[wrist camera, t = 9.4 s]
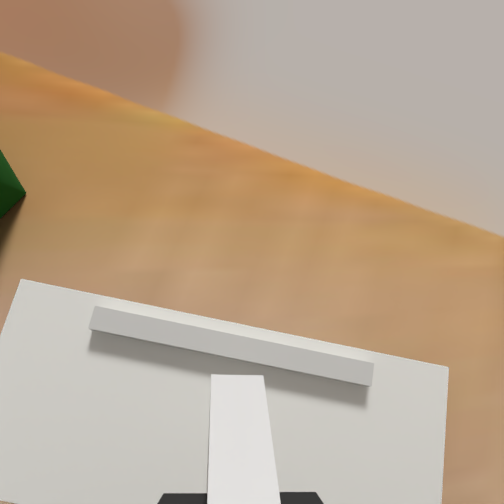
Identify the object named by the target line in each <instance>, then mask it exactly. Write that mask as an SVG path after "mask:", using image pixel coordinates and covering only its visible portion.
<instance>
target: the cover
mask: <svg viewBox="0 0 504 504" xmlns="http://www.w3.org/2000/svg"><path fill="white" fill-rule="evenodd" d="M211 374H218V375H263V377H264V384H265V391H266V399H267V406H268V413H269V421H270V428H271V435H272V443H273V450H274V457H275V465H276V472H277V479H278V487H279V492H316V493H317V494H318V496H319V497H320V499H321V500H322V502H323V503H324V504H441V501H442V482H443V464H444V446H445V428H446V410H447V392H448V374H449V367H446V366H441V365H436V364H431V363H426V362H421V361H417V360H412V359H407V358H402V357H397V356H392V355H388V354H383V353H378V352H373V351H368V350H363V349H359V348H354V347H349V346H344V345H339V344H334V343H330V342H325V341H320V340H315V339H310V338H305V337H301V336H296V335H291V334H286V333H281V332H276V331H272V330H267V329H262V328H257V327H252V326H247V325H243V324H238V323H233V322H228V321H223V320H218V319H214V318H209V317H204V316H199V315H194V314H189V313H185V312H180V311H175V310H170V309H165V308H160V307H156V306H151V305H146V304H141V303H136V302H131V301H127V300H122V299H117V298H112V297H107V296H102V295H98V294H93V293H88V292H83V291H78V290H73V289H69V288H64V287H59V286H54V285H49V284H44V283H40V282H35V281H30V280H25V279H21V280H20V283H19V285H18V288H17V291H16V294H15V296H14V299H13V302H12V305H11V308H10V310H9V313H8V316H7V319H6V321H5V324H4V327H3V330H2V332H1V335H0V500H1V501H6V502H12V503H17V504H157V503H158V502H159V500H160V498H161V497H162V495H163V493H206V486H207V456H208V432H209V411H210V390H211Z"/></svg>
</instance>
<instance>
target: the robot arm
mask: <svg viewBox="0 0 504 504" xmlns="http://www.w3.org/2000/svg"><path fill="white" fill-rule="evenodd" d="M157 504H324V503H323V502H322V500H321V499H320V497H319V496H318V494H317V493H316V492H279V487H278V479H277V472H276V465H275V457H274V450H273V443H272V435H271V428H270V421H269V413H268V406H267V399H266V391H265V384H264V377H263V375H218V374H211V390H210V411H209V432H208V456H207V486H206V493H163V495H162V497H161V498H160V500H159V502H158V503H157Z"/></svg>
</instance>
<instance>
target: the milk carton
mask: <svg viewBox="0 0 504 504" xmlns="http://www.w3.org/2000/svg"><path fill="white" fill-rule="evenodd" d="M25 194H26V192H25V190H24V188H23V187H22V185H21V184H20V182H19V180H18V179H17V177H16V175H15V174H14V172H13V170H12V168H11V167H10V165H9V163H8V162H7V160H6V158H5V157H4V155H3V153H2V152H1V150H0V219H1V218H2V217H3V216H4V215H5V214H6V213H7V212H8V211H9V210H10V209H11V208H12V207H13V206H14V205H15V204H16V203H17V202H18V201H19V200H20V199H21V198H22V197H23V196H24V195H25Z"/></svg>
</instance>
